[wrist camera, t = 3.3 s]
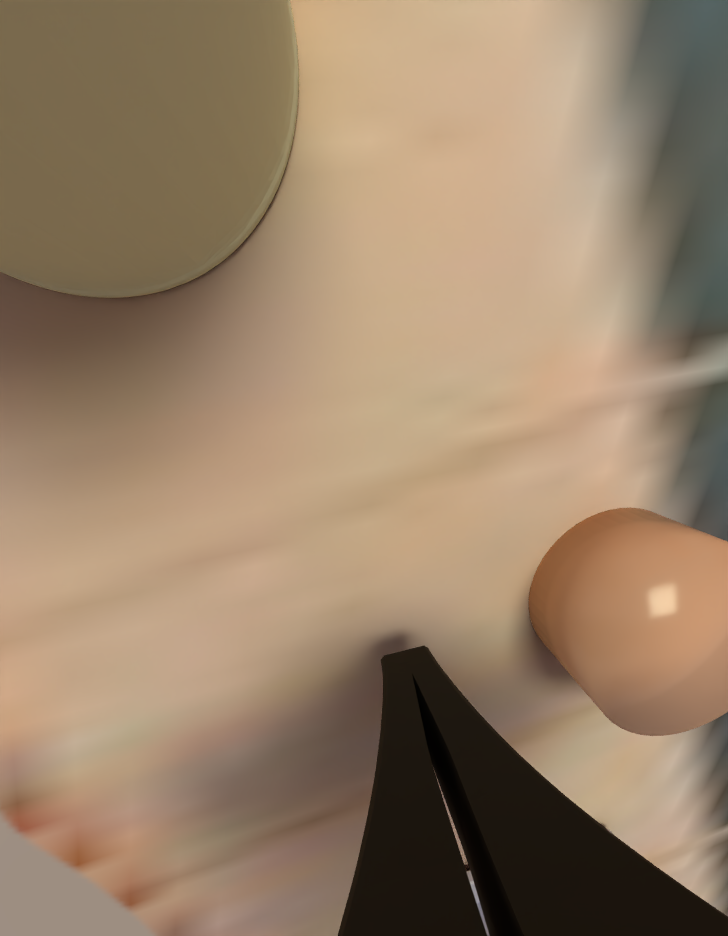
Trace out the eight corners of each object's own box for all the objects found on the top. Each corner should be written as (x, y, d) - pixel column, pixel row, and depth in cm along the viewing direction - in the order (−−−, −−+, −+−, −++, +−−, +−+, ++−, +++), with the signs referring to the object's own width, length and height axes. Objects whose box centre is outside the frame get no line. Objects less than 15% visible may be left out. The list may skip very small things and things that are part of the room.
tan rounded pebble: (677, 634, 13) (776, 704, 10) (531, 673, 13) (592, 758, 10) (687, 489, 12) (808, 525, 9) (520, 528, 11) (590, 580, 8)
